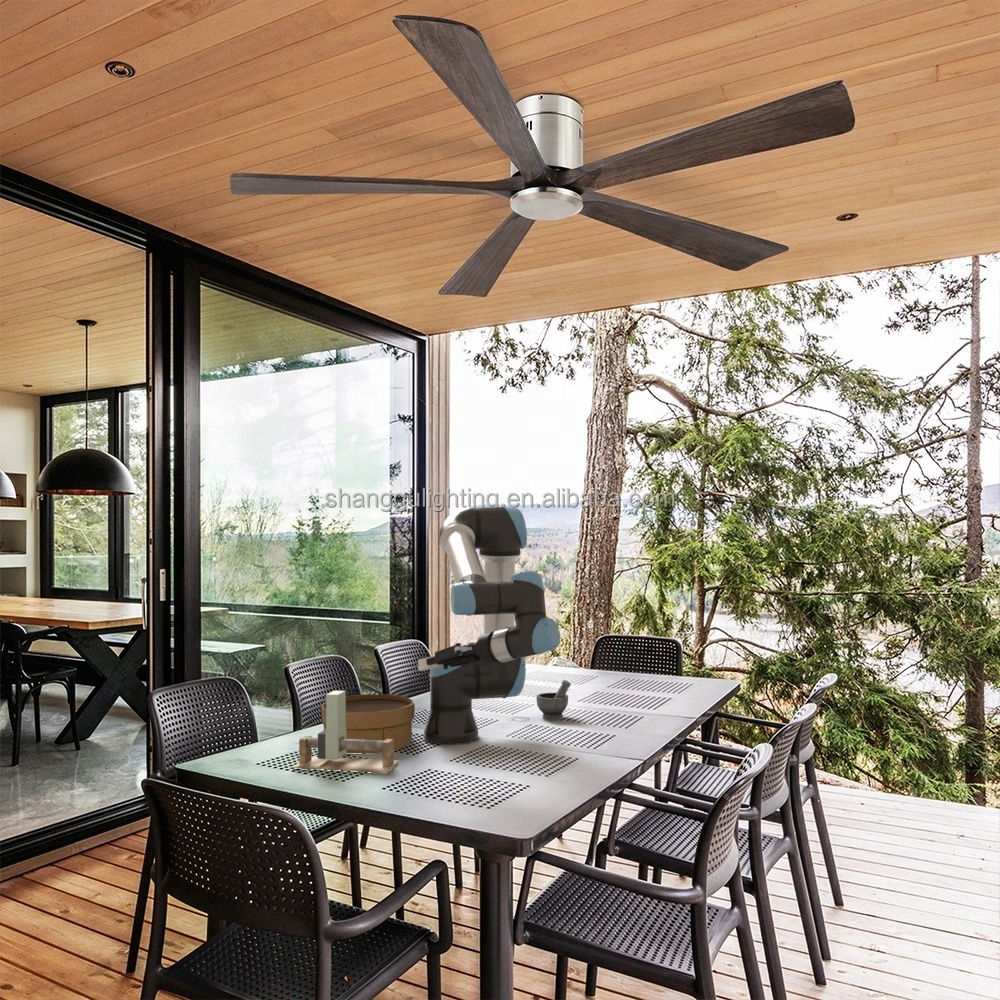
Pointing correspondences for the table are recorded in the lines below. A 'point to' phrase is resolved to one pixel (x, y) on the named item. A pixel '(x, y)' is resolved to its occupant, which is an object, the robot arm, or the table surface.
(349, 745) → the pipe stand
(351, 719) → the steamer basket
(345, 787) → the table surface
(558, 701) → the mortar and pestle
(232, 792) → the table surface
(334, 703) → the pale green upright panel
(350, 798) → the table surface
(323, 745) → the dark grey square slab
